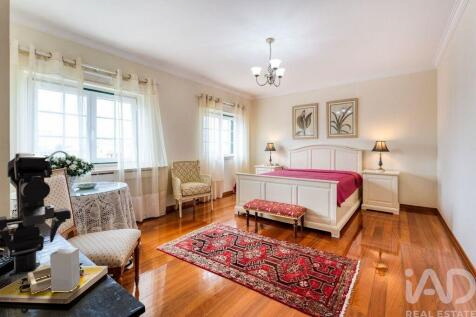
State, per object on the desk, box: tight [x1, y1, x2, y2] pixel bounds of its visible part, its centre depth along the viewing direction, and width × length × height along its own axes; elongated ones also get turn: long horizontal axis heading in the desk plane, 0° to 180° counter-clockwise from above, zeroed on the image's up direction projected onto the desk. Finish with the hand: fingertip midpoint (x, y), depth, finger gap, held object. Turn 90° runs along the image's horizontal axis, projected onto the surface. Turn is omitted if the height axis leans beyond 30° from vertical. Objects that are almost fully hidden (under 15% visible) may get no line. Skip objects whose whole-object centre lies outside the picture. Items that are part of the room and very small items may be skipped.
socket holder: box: [27, 265, 51, 294], centre depth 72 cm, size 10×10×3 cm
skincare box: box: [49, 247, 81, 292], centre depth 68 cm, size 6×4×12 cm
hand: (31, 246), depth 68 cm, fingers open, 9 cm apart
